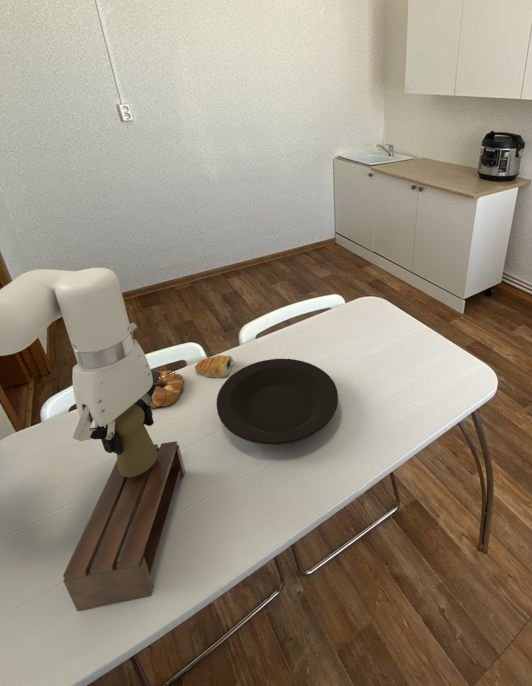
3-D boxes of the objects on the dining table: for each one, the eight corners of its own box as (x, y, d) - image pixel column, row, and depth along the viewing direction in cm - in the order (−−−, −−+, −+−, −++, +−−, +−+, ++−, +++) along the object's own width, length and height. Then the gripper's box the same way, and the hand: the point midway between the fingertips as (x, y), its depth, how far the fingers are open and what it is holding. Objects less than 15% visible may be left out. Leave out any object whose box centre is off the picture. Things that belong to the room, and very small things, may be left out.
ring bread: (193, 394, 94) (190, 382, 93) (145, 419, 87) (141, 407, 86) (175, 370, 102) (173, 359, 101) (130, 392, 95) (127, 380, 94)
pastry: (191, 379, 99) (189, 367, 98) (201, 362, 105) (199, 350, 104) (227, 378, 99) (225, 366, 98) (235, 361, 105) (233, 350, 104)
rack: (76, 611, 55) (60, 576, 52) (130, 480, 73) (120, 449, 71) (151, 595, 56) (139, 561, 54) (185, 471, 75) (178, 440, 72)
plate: (194, 432, 83) (190, 412, 81) (263, 365, 104) (261, 348, 102) (302, 483, 72) (300, 462, 70) (356, 396, 92) (356, 378, 90)
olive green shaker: (122, 452, 68) (107, 404, 65) (159, 441, 70) (147, 394, 67) (114, 482, 63) (98, 431, 59) (155, 470, 65) (142, 420, 61)
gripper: (135, 314, 67) (155, 395, 73) (27, 378, 52) (64, 474, 58) (168, 321, 65) (186, 405, 71) (65, 392, 50) (99, 490, 56)
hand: (131, 435), depth 65 cm, fingers closed on olive green shaker, 5 cm apart
